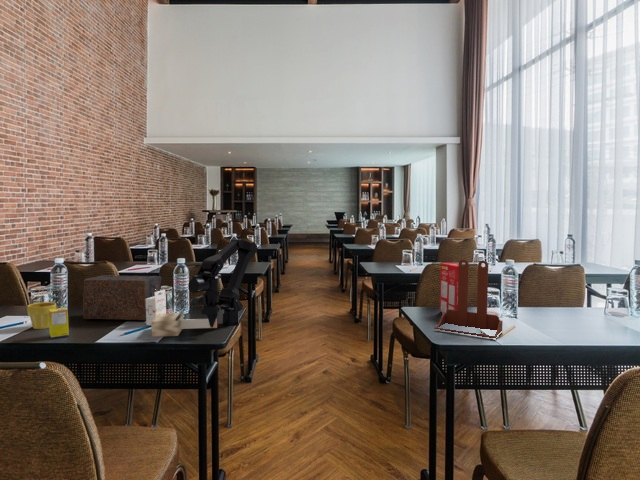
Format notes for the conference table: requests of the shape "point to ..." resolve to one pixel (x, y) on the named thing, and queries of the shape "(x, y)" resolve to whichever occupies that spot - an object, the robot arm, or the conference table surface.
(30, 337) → the conference table surface
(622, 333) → the conference table surface
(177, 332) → the tan box with rod
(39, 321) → the plant pot
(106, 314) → the decorative box
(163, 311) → the ink cartridge box
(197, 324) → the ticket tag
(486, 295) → the hanging shelf
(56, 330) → the supplement box
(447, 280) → the food packaging
